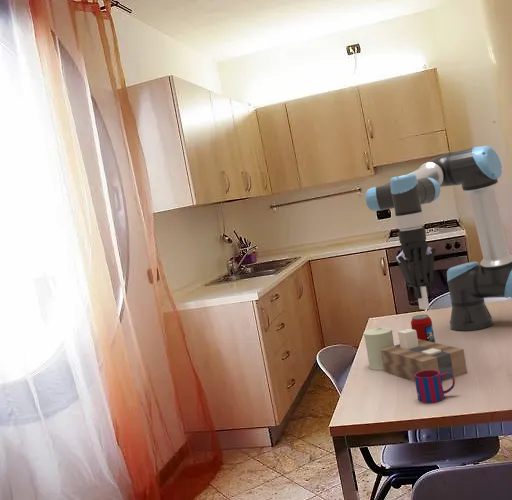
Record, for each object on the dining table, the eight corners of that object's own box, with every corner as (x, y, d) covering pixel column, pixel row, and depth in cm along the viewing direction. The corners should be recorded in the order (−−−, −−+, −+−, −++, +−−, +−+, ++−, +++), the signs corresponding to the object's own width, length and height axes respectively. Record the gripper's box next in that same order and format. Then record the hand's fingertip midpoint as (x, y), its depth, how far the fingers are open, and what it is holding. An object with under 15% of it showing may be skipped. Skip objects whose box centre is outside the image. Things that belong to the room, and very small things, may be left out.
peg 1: (412, 350, 194) (408, 328, 193) (419, 352, 190) (416, 330, 189) (401, 353, 192) (397, 331, 192) (408, 355, 188) (405, 333, 188)
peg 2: (436, 371, 184) (432, 348, 183) (445, 373, 180) (441, 350, 179) (425, 374, 182) (421, 351, 182) (433, 377, 178) (429, 353, 178)
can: (399, 360, 203) (393, 324, 202) (396, 368, 195) (390, 331, 194) (371, 362, 206) (365, 327, 206) (367, 371, 198) (360, 334, 197)
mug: (418, 395, 167) (413, 371, 167) (456, 392, 165) (452, 367, 164) (418, 404, 161) (414, 378, 160) (458, 400, 158) (454, 374, 158)
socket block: (384, 371, 194) (380, 349, 194) (421, 360, 199) (417, 338, 198) (426, 385, 173) (422, 361, 173) (467, 372, 178) (463, 349, 178)
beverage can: (437, 352, 204) (431, 317, 203) (416, 355, 205) (410, 320, 204) (435, 347, 210) (429, 313, 210) (415, 349, 212) (409, 315, 211)
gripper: (422, 224, 184) (434, 302, 185) (384, 233, 179) (398, 312, 181) (437, 223, 177) (451, 304, 178) (399, 232, 172) (413, 315, 174)
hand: (424, 308), depth 180 cm, fingers closed
